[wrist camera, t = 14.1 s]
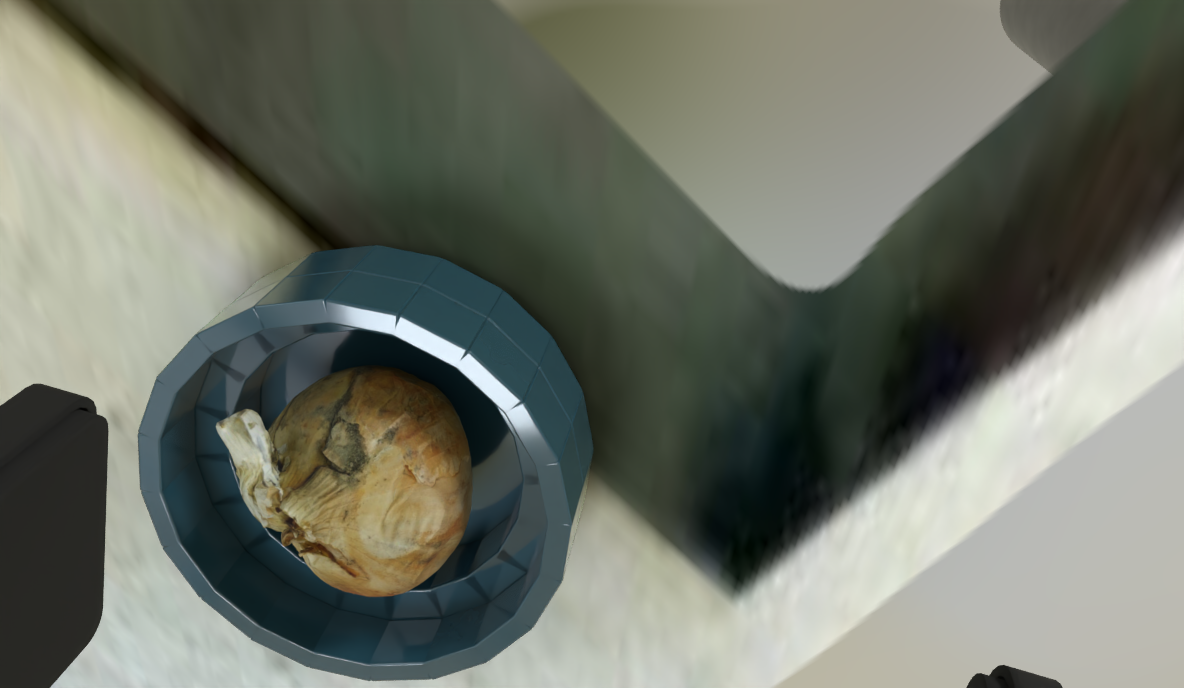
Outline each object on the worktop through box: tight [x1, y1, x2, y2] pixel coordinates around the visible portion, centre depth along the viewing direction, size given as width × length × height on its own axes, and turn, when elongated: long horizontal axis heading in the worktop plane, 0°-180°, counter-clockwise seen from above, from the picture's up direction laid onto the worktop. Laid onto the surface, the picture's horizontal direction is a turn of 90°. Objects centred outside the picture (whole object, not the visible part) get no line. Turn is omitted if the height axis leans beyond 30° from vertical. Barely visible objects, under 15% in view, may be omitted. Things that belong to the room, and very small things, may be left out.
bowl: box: [138, 245, 593, 681], centre depth 38 cm, size 15×15×6 cm
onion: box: [216, 365, 473, 597], centre depth 36 cm, size 8×8×8 cm
